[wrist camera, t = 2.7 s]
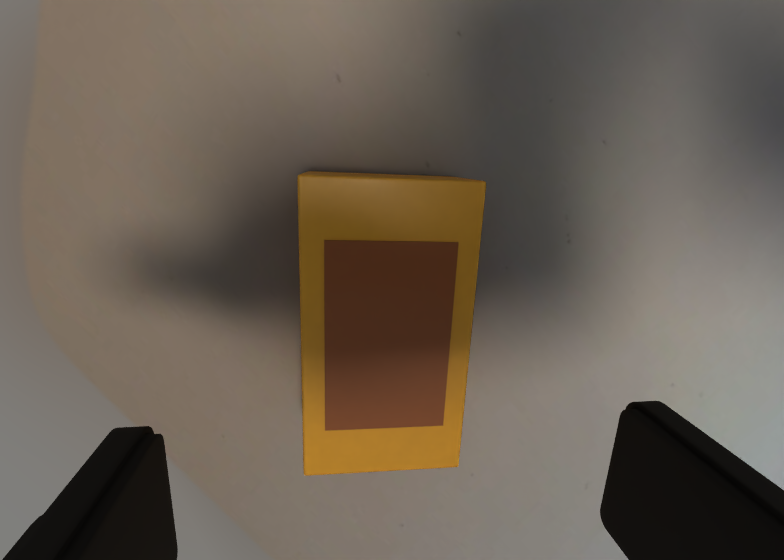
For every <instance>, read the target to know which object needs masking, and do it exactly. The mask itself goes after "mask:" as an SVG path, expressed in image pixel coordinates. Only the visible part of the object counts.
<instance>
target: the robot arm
mask: <svg viewBox="0 0 784 560" xmlns="http://www.w3.org/2000/svg"><path fill="white" fill-rule="evenodd" d="M600 514H601V519H602V522H603V525H604V527H605V528H606V530H607V531H608V533H609V534H610V535H611V537H612V538H613V539H614V541H615V542H616V543H617V544H618V546H619V547H620V548H621V550H622V551H623V552H624V554H625V555H626V556H627V558H628V559H629V560H784V490H782V489H781V488H780V487H778V486H777V485H776V484H774V483H773V482H771V481H770V480H769V479H767V478H766V477H764V476H763V475H762V474H760V473H759V472H758V471H756V470H755V469H753V468H752V467H751V466H749V465H748V464H747V463H745V462H744V461H742V460H741V459H740V458H738V457H737V456H735V455H734V454H733V453H731V452H730V451H729V450H727V449H726V448H724V447H723V446H722V445H720V444H719V443H718V442H716V441H715V440H713V439H712V438H711V437H709V436H708V435H707V434H705V433H704V432H702V431H701V430H700V429H698V428H697V427H695V426H694V425H693V424H691V423H690V422H689V421H687V420H686V419H684V418H683V417H682V416H680V415H679V414H678V413H676V412H675V411H673V410H672V409H671V408H669V407H668V406H666V405H665V404H663V403H662V402H660V401H644V402H632V403H629V404H628V406H627V407H626V410H623V411H622V412H621V415H620V418H619V423H618V428H617V433H616V437H615V442H614V447H613V451H612V456H611V461H610V466H609V470H608V475H607V480H606V484H605V489H604V494H603V499H602V503H601V508H600ZM3 560H177V540H176V532H175V524H174V517H173V509H172V501H171V493H170V485H169V477H168V469H167V461H166V453H165V445H164V439H163V436H162V435H161V434H154V432H153V430H152V428H151V427H149V426H143V427H124V428H115V429H113V430H112V431H111V432H110V433H109V434H108V435H107V436H106V438H105V439H104V440H103V441H102V443H101V444H100V445H99V446H98V448H97V449H96V450H95V451H94V453H93V454H92V455H91V456H90V457H89V459H88V460H87V461H86V462H85V464H84V465H83V466H82V467H81V468H80V470H79V471H78V472H77V474H76V475H75V476H74V477H73V478H72V480H71V481H70V482H69V483H68V485H67V486H66V487H65V488H64V490H63V491H62V492H61V493H60V494H59V496H58V497H57V498H56V499H55V501H54V502H53V503H52V504H51V505H50V507H49V508H48V509H47V511H46V512H45V513H44V514H43V515H42V516H40V517H39V518H38V519H37V520H35V522H34V523H32V524H31V525H30V527H29V528H28V529H27V530H26V532H25V533H24V534H23V535H22V536H21V538H20V539H19V540H18V541H17V543H16V544H15V545H14V546H13V547H12V549H11V550H10V551H9V552H8V553H7V555H6V556H5V557H4V558H3Z"/></svg>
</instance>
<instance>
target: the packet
mask: <svg viewBox="0 0 784 560" xmlns="http://www.w3.org/2000/svg"><path fill="white" fill-rule="evenodd" d="M485 192H486V182H485V181H480V180H473V179H466V178H459V177H451V176H424V175H398V174H371V173H345V172H318V171H308V172H305V173H302V174H300V175H298V225H299V272H300V320H301V367H302V414H303V462H304V475H306V476H307V475H324V474H342V473H359V472H377V471H395V470H412V469H430V468H447V467H458V464H459V454H460V444H461V434H462V424H463V414H464V404H465V393H466V383H467V373H468V363H469V353H470V343H471V333H472V323H473V313H474V303H475V292H476V282H477V272H478V262H479V252H480V242H481V232H482V222H483V212H484V202H485Z"/></svg>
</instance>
